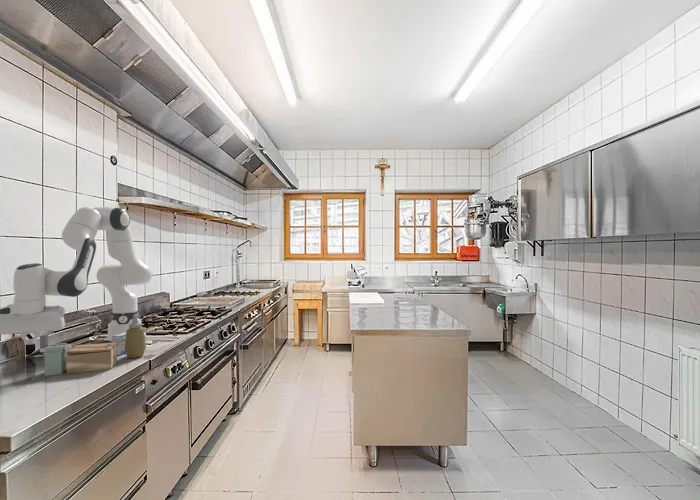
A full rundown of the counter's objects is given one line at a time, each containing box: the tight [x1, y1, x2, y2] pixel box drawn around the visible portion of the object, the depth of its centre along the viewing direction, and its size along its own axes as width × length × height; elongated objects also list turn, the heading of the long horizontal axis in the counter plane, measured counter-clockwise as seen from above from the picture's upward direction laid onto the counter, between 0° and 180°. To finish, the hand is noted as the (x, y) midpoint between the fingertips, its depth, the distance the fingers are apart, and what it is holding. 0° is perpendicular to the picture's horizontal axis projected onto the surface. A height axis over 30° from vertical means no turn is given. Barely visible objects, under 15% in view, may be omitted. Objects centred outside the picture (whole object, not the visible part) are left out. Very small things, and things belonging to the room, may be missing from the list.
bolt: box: [39, 334, 73, 353], centre depth 133 cm, size 3×9×6 cm, turn 113°
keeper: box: [44, 342, 69, 377], centre depth 133 cm, size 7×5×10 cm
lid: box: [67, 342, 117, 354], centre depth 138 cm, size 10×14×1 cm
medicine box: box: [111, 332, 126, 356], centre depth 158 cm, size 8×4×9 cm, turn 168°
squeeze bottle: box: [124, 315, 147, 359], centre depth 152 cm, size 8×8×18 cm
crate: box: [66, 345, 118, 375], centre depth 138 cm, size 10×14×7 cm
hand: (30, 344), depth 130 cm, fingers closed
